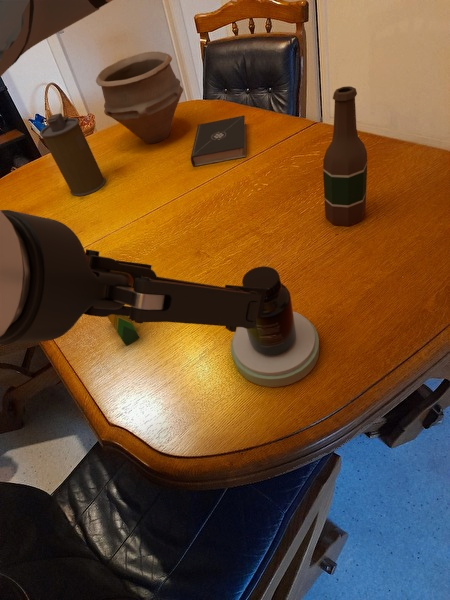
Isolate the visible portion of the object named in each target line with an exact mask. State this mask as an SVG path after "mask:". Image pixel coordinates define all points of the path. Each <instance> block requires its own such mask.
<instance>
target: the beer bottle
mask: <svg viewBox="0 0 450 600" xmlns="http://www.w3.org/2000/svg"><path fill="white" fill-rule="evenodd" d="M357 95H358V92H357V89H356V88H355V87H353V86H349V85H348V86H341V87H338V88H336V89H335V91H334V92H333V96H332V100H334V110H333V133H332V138H331V142H330V144H329V145H328V147H327V148H326V151H325V153H324V157H323V163H322V164H323V166H322V177H323V196H324V200H323V201H324V213H325V215H324V216H325V218H326V219H327V220H328V222H330V223H331V224H332V225H333V226H342V227H351V226H353V225H355V224H357V223H360V222H362V220H363V218H364V216H365V212H366V207H367V183H368V182H367V181H368V180H367V179H368V151H367V149H366V146H365V143H364V142H363V141H362V140H361V138H360V137H359V135H358V129H357V112H356V111H357V110H356V109H357V108H356V97H357Z"/></svg>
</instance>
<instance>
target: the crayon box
mask: <svg viewBox="0 0 450 600" xmlns="http://www.w3.org/2000/svg"><path fill="white" fill-rule="evenodd" d="M106 318H107V319H108V321H109V322H110V324H111V325H112V327H113V329H114V330H115V332H116V333H117V335H118V337H119V338H120V340H121V341H122V343H123V344H124V346H125V347H126V346H127V347H128V345H131V344H132V343H134V342H135V341H137V340H139V339H141V336H140V335H139V333H138V331H137V329H136V328H135V327H134V324H133V322H132V321H131V320H130V319H129V316H122V315H113V314H112V315H109V316H107V317H106Z"/></svg>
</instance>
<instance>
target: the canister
mask: <svg viewBox="0 0 450 600" xmlns="http://www.w3.org/2000/svg"><path fill="white" fill-rule="evenodd" d="M46 122H47V124H48V125H46V126H45V127H43V128H42V129H41V130H40V131H39V136H40V137H42V140H43V141H44V144H45V145H46V147H47V149H48V151H49V152H50V155H51V156H52V159H53V160H54V162H55V164H56V167H58V170H59V172H60V173H61V175H62V177H63V179H64V181H65V183H66V185H67V186H68V189H69V190H70V194H71V195H72V196H75V197H83V196H87V195H91V194H93V193H95V192H96V191H98V190H100V189H101V188H103V186H104V185H105V184H106V178H105V177H104V175H103V173H102V170H101V169H100V167H99V165H98V162H97V160H96V158H95V156H94V153H93V152H92V149H91V147H90V145H89V142H88V140H87V138H86V136H85V134H84V132H83V129H82V127H81V125H80V121H79V119H78V118H76V117H69V116H63V114H62V113H61V112H60V113H55V114H51V115H49V117H48V119H46Z"/></svg>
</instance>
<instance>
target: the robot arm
mask: <svg viewBox="0 0 450 600" xmlns="http://www.w3.org/2000/svg"><path fill="white" fill-rule="evenodd" d="M112 1H114V0H0V78H1V77H2V76H3V75H4V74H5V73H6V72H7V71H8V70H9V69H10V68H12V66H13V65H15V64H16V63H17V62H18V60H19V59H20V57H21V56H23V55H24V54H25V53H26V52H27V51H29V50H31V49H32V48H33V47H35V46H36V45H38V44H40V43H41V42H43V41H45V40H47V39H48V38H51V37H52V36H54V35H56V34H57V33H60V32H61V31H63V30H65V29H66V28H68V27H71V26H72V25H73V24H76V23H78V22H79V21H81V20H83V19H85V18H87V17H88V16H90V15H92V14H93V13H95V12H98V11H99V10H100V8H102V7H104V6H105V5H107V4H109V3H111V2H112ZM265 293H266V289H264V288H259V287H246V286H243V285H233V284H225V285H224V286H219V285H215V284H207V283H201V282H196V281H195V282H193V281H189V280H181V279H177V278H170V277H169V278H168V277H164V276H157V274H156V272H155V270H153V269H152V264H148V263H140V262H133V261H125V260H119V259H118V260H116V259H114V258H112V257H108V256H107V257H106V256H102V255H101V256H100V251H98V250H93V249H88V248H87V249H85V248H84V245H83V244H82V242H81V239H79V237H78V236H77V234H76V233H75V232H74V230H72V228H70V227H69V226H67V224H65V223H64V222H61V221H59V220H56V219H54V218H53V219H51V218H48V217H43V216H38V215H34V214H29V213H26V212H25V213H23V212H19V211H15V210H10V209H0V346H8V345H18V344H19V345H20V344H29V343H40V342H48V341H53V340H56V339H59V338H60V337H62V336H64V335H66V334H67V333H68V332H69V331H70V330H71V329H72V328H73V327H75V325H76V324H77V322H78V321H79V320H80V318H81V317H82V316H84V315H85V316H89V317H91V316H92V317H98V318H99V317H100V318H108V317H107V316H109V315H112V314H113V315H122V316H128V317H129V319H130V321H131V322H134V323H136V324H144V323H175V324H187V325H190V324H191V325H203V326H216V327H225V329H226V330H227V331H229V332H230V333H235V332H236V330H237V329H238V327H243V328H246V329H250V328H255V326H256V321H257V318H261V314H262V309H263V304H264V299H265Z"/></svg>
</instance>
